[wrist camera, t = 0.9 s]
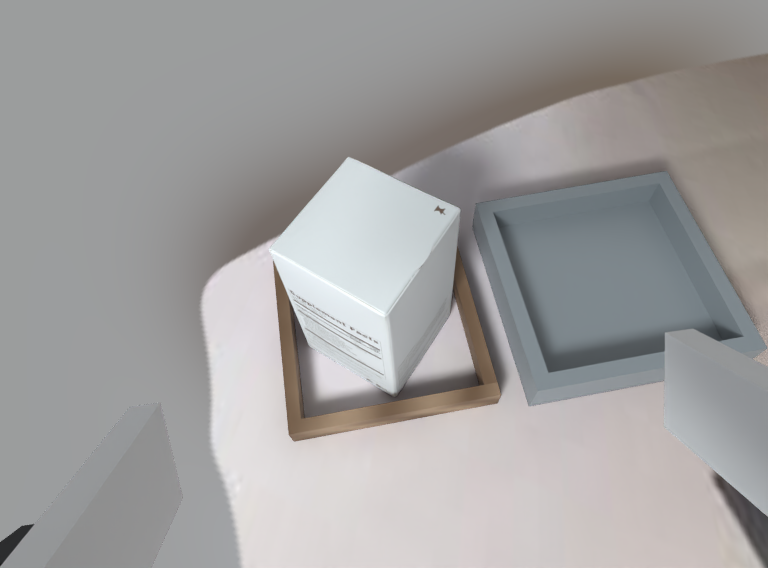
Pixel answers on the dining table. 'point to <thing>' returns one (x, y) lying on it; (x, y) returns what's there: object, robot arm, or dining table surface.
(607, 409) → the dining table surface
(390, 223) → the supplement box
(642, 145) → the dining table surface
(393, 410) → the walnut collar
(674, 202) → the grey tray
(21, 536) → the robot arm
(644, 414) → the dining table surface
